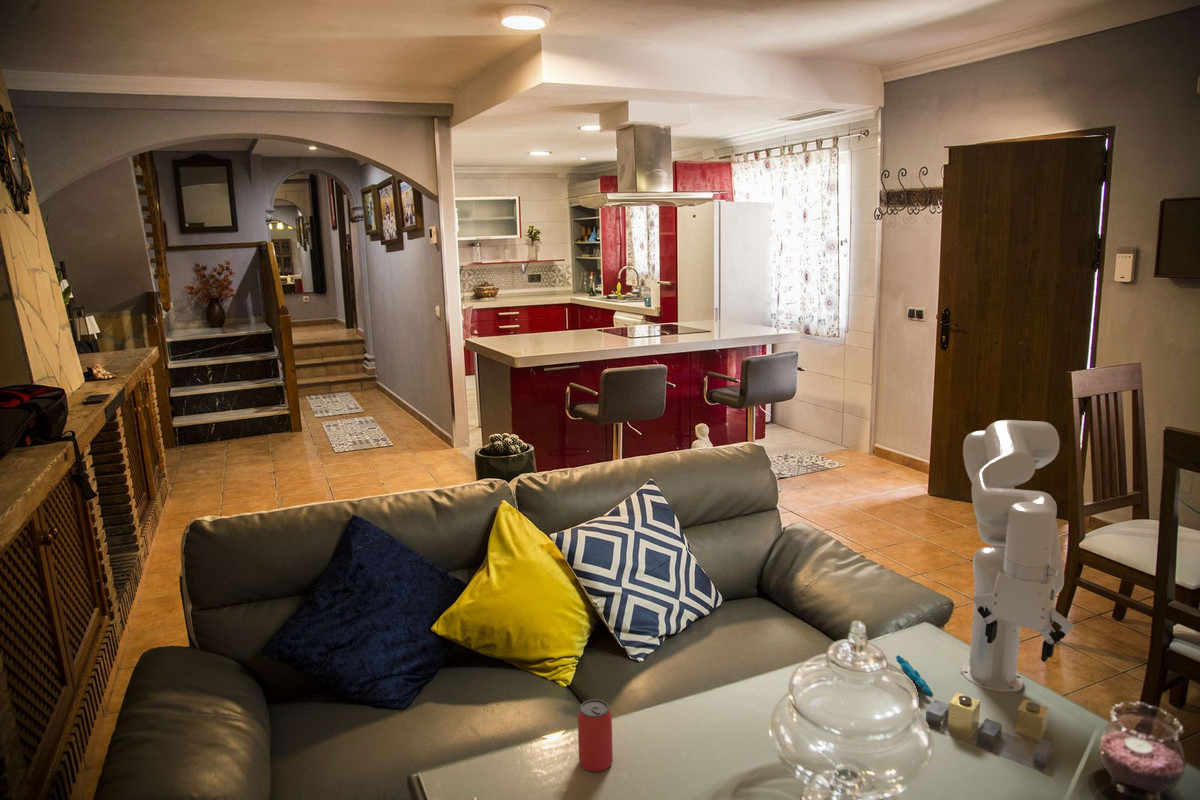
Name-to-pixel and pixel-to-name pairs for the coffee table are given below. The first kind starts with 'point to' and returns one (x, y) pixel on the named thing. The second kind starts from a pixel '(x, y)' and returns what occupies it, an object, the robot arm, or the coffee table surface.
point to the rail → (993, 739)
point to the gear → (913, 674)
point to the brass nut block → (1032, 719)
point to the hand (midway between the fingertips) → (1017, 649)
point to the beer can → (595, 735)
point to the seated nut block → (963, 715)
